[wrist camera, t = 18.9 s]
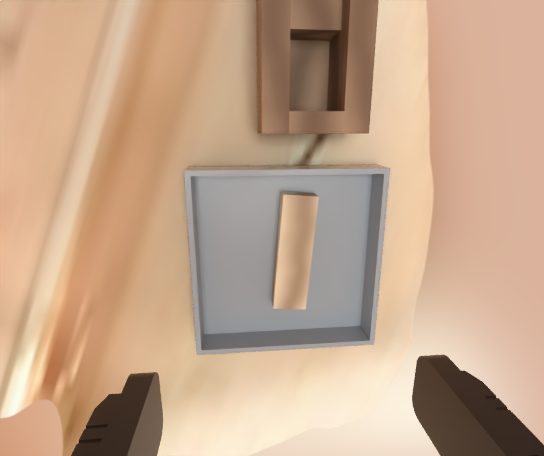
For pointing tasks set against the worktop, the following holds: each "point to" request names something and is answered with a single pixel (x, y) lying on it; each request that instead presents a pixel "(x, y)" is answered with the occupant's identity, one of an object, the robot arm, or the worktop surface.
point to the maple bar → (294, 249)
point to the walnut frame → (315, 65)
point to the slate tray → (261, 256)
